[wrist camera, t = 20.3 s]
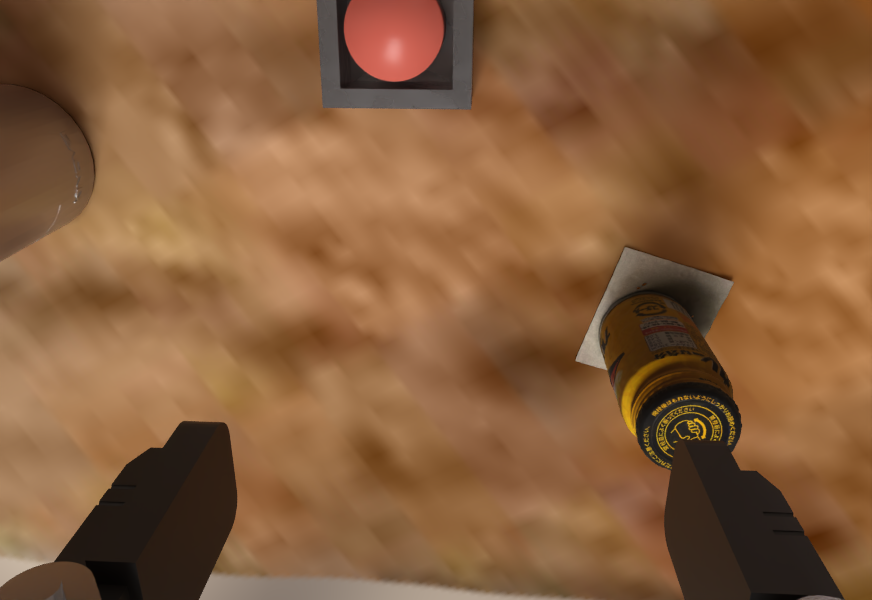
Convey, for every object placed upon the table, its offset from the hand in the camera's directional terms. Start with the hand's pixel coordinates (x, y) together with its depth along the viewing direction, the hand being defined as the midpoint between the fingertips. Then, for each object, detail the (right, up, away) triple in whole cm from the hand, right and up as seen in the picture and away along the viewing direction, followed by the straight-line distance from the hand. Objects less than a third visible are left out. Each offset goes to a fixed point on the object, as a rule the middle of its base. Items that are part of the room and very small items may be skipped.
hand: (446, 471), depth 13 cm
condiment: (+14, +2, +35) cm, 37 cm away
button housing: (-2, +19, +28) cm, 34 cm away
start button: (-2, +18, +27) cm, 33 cm away
